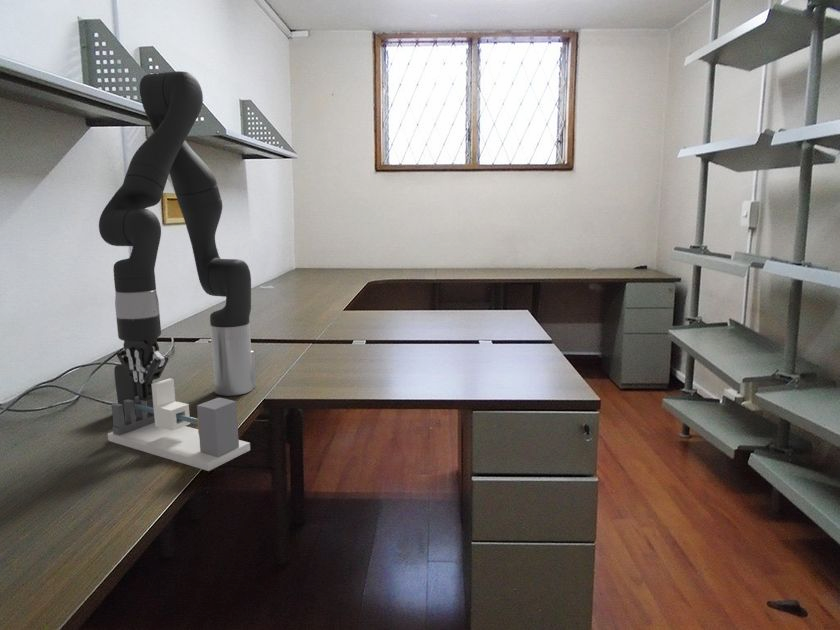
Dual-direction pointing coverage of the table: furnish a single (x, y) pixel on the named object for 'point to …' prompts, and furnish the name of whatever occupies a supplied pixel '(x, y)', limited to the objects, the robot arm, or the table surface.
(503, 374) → the table surface
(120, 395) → the battery charger
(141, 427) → the cable jig
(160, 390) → the sleeve
